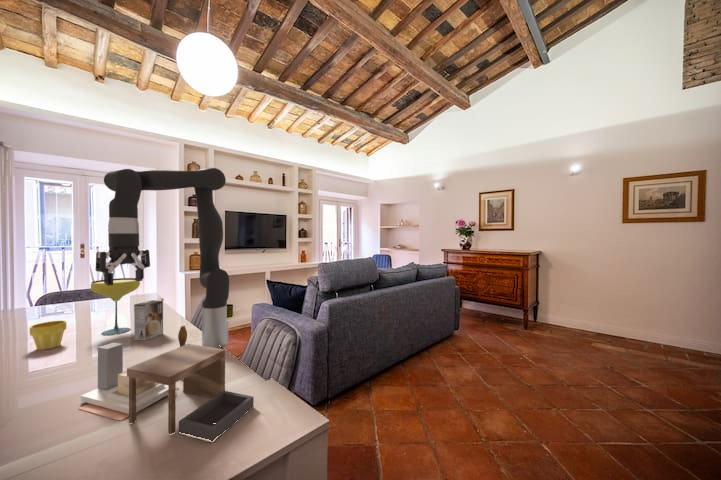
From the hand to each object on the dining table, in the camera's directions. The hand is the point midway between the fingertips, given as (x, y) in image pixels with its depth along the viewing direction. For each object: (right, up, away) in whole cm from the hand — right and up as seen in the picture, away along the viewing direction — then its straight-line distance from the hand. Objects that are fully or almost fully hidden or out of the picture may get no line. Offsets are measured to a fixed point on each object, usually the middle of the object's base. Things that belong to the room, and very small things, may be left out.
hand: (125, 283), depth 90 cm
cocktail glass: (-44, -31, +47) cm, 72 cm away
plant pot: (-55, -31, +28) cm, 69 cm away
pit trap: (+39, -32, -18) cm, 54 cm away
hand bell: (+14, -32, +6) cm, 36 cm away
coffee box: (-23, -32, +41) cm, 56 cm away
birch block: (+12, -30, -10) cm, 33 cm away
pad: (+10, -32, -9) cm, 34 cm away
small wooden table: (+27, -32, -15) cm, 44 cm away
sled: (+9, -31, -9) cm, 34 cm away
